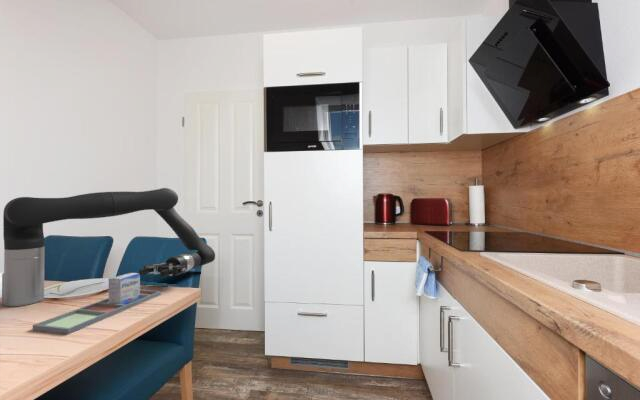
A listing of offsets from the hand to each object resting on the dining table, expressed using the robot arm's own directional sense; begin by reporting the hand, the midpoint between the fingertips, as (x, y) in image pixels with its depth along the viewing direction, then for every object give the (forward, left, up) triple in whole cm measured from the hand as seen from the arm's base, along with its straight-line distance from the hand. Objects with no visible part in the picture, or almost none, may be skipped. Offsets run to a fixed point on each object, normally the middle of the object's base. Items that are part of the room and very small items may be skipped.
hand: (150, 273), depth 109 cm
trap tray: (0, -18, -6) cm, 19 cm away
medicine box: (0, -11, -7) cm, 13 cm away
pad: (0, -28, -6) cm, 28 cm away
